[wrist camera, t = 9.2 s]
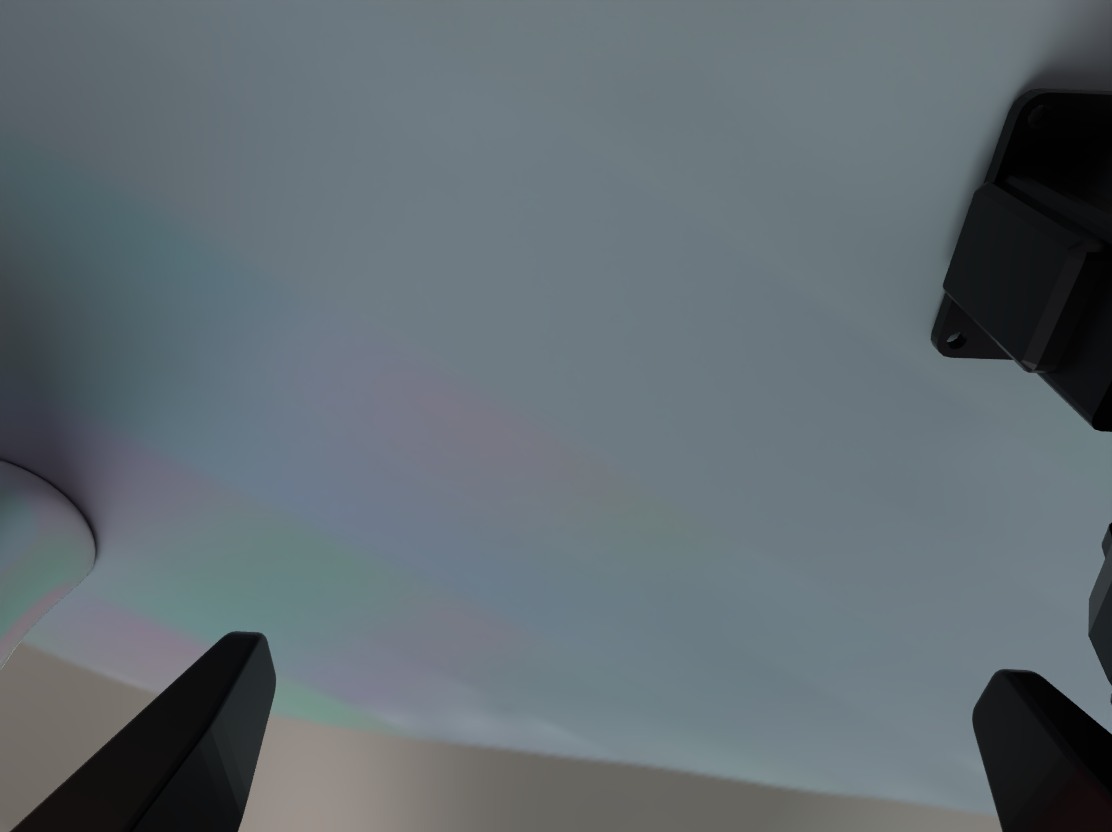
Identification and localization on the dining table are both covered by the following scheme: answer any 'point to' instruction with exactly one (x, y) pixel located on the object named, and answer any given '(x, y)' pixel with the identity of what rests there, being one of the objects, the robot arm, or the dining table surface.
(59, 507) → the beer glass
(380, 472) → the dining table surface
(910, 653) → the dining table surface
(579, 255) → the dining table surface
